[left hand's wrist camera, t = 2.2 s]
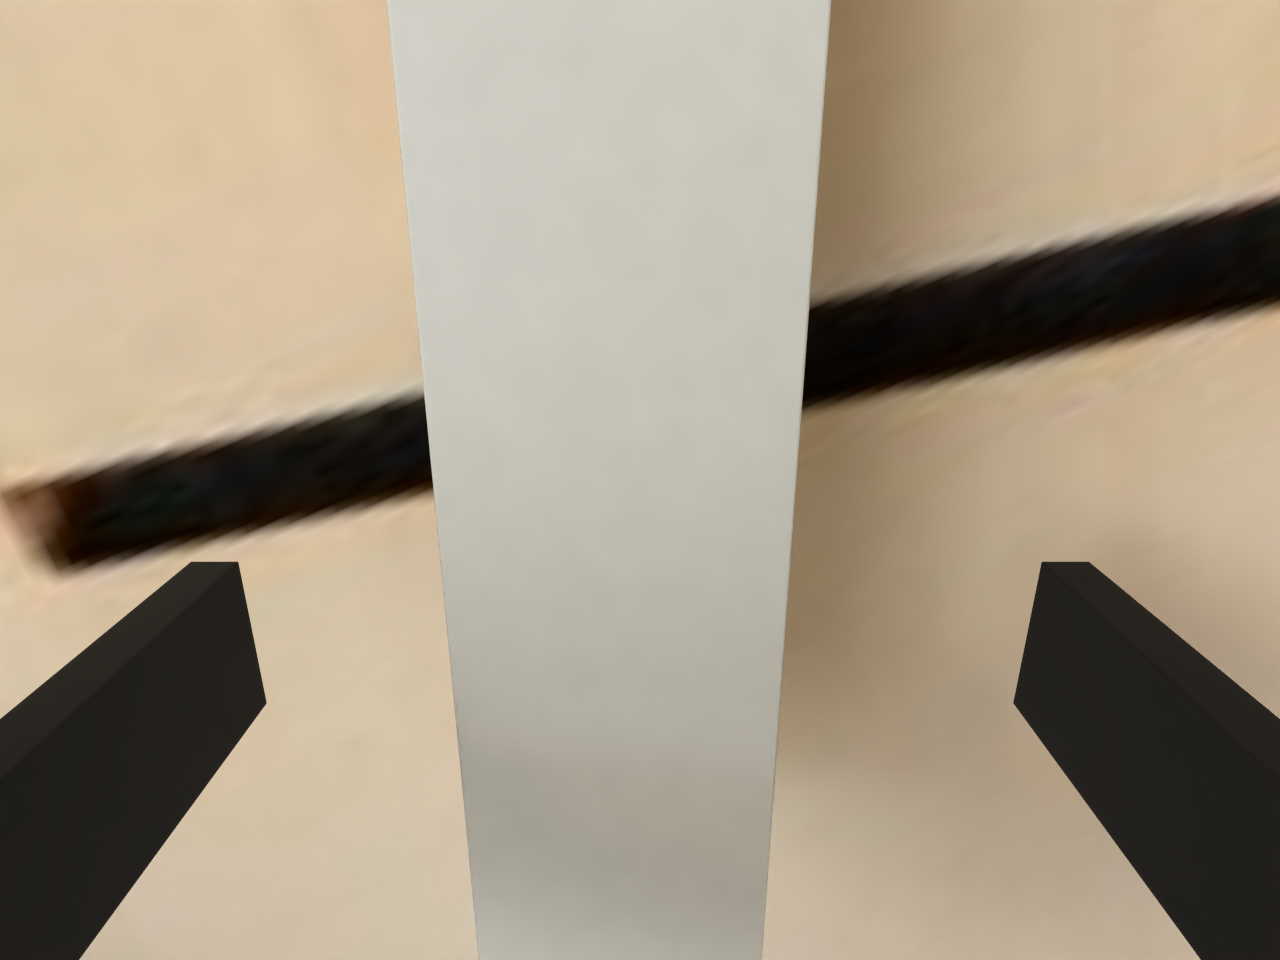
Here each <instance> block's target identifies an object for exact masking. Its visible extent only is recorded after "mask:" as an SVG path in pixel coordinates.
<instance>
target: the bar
mask: <svg viewBox="0 0 1280 960" xmlns="http://www.w3.org/2000/svg"><path fill="white" fill-rule="evenodd" d="M386 1H387V12H388V22H389V33H390V43H391V53H392V64H393V74H394V84H395V95H396V105H397V115H398V126H399V136H400V146H401V157H402V167H403V178H404V188H405V198H406V209H407V219H408V229H409V240H410V250H411V260H412V271H413V281H414V291H415V302H416V312H417V323H418V333H419V343H420V354H421V364H422V374H423V385H424V395H425V405H426V416H427V426H428V437H429V447H430V457H431V468H432V478H433V488H434V499H435V509H436V519H437V530H438V540H439V550H440V561H441V571H442V582H443V592H444V602H445V613H446V623H447V633H448V644H449V654H450V664H451V675H452V685H453V695H454V706H455V716H456V727H457V737H458V747H459V758H460V768H461V778H462V789H463V799H464V809H465V820H466V830H467V840H468V851H469V861H470V872H471V882H472V892H473V903H474V913H475V923H476V934H477V944H478V954H479V960H761V958H762V948H763V934H764V920H765V907H766V893H767V879H768V865H769V852H770V838H771V824H772V810H773V797H774V783H775V769H776V755H777V742H778V728H779V714H780V700H781V687H782V673H783V659H784V646H785V632H786V618H787V604H788V591H789V577H790V563H791V549H792V536H793V522H794V508H795V494H796V481H797V467H798V453H799V439H800V426H801V412H802V398H803V385H804V371H805V357H806V343H807V330H808V316H809V302H810V288H811V275H812V261H813V247H814V233H815V220H816V206H817V192H818V178H819V165H820V151H821V137H822V123H823V110H824V96H825V82H826V69H827V55H828V41H829V27H830V14H831V0H386Z"/></svg>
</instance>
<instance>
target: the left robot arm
mask: <svg viewBox="0 0 1280 960" xmlns="http://www.w3.org/2000/svg"><path fill="white" fill-rule="evenodd" d="M265 705H266V698H265V693H264V688H263V683H262V678H261V673H260V668H259V663H258V658H257V653H256V648H255V643H254V638H253V633H252V628H251V623H250V618H249V613H248V608H247V604H246V599H245V594H244V589H243V584H242V579H241V574H240V569H239V564H238V562H190V563H189V564H188V565H187V566H186V567H184V568H183V569H182V570H181V571H180V572H178V573H177V574H176V575H175V576H173V577H172V578H171V579H170V580H169V581H167V582H166V583H165V584H164V585H163V586H161V587H160V588H159V589H158V590H156V591H155V592H154V593H153V594H152V595H150V596H149V597H148V598H147V599H146V600H144V601H143V602H142V603H141V604H139V605H138V606H137V607H136V608H135V609H133V610H132V611H131V612H130V613H129V614H127V615H126V616H125V617H124V618H122V619H121V620H120V621H119V622H118V623H116V624H115V625H114V626H113V627H112V628H110V629H109V630H108V631H107V632H105V633H104V634H103V635H102V636H101V637H99V638H98V639H97V640H96V641H95V642H93V643H92V644H91V645H90V646H88V647H87V648H86V649H85V650H84V651H82V652H81V653H80V654H79V655H78V656H76V657H75V658H74V659H73V660H71V661H70V662H69V663H68V664H67V665H65V666H64V667H63V668H62V669H61V670H59V671H58V672H57V673H56V674H54V675H53V676H52V677H51V678H50V679H48V680H47V681H46V682H45V683H44V684H42V685H41V686H40V687H39V688H37V689H36V690H35V691H34V692H33V693H31V694H30V695H29V696H28V697H27V698H25V699H24V700H23V701H22V702H20V703H19V704H18V705H17V706H16V707H14V708H13V709H12V710H11V711H10V712H8V713H7V714H6V715H5V716H3V717H2V718H1V719H0V960H79V959H80V958H81V956H82V955H83V954H84V952H85V951H86V949H87V948H88V947H89V945H90V944H91V943H92V941H93V940H94V938H95V937H96V936H97V934H98V933H99V932H100V930H101V929H102V928H103V926H104V925H105V923H106V922H107V921H108V919H109V918H110V917H111V915H112V914H113V913H114V911H115V910H116V908H117V907H118V906H119V904H120V903H121V902H122V900H123V899H124V897H125V896H126V895H127V893H128V892H129V891H130V889H131V888H132V887H133V885H134V884H135V882H136V881H137V880H138V878H139V877H140V876H141V874H142V873H143V871H144V870H145V869H146V867H147V866H148V865H149V863H150V862H151V861H152V859H153V858H154V856H155V855H156V854H157V852H158V851H159V850H160V848H161V847H162V845H163V844H164V843H165V841H166V840H167V839H168V837H169V836H170V835H171V833H172V832H173V830H174V829H175V828H176V826H177V825H178V824H179V822H180V821H181V819H182V818H183V817H184V815H185V814H186V813H187V811H188V810H189V809H190V807H191V806H192V804H193V803H194V802H195V800H196V799H197V798H198V796H199V795H200V793H201V792H202V791H203V789H204V788H205V787H206V785H207V784H208V783H209V781H210V780H211V778H212V777H213V776H214V774H215V773H216V772H217V770H218V769H219V767H220V766H221V765H222V763H223V762H224V761H225V759H226V758H227V757H228V755H229V754H230V752H231V751H232V750H233V748H234V747H235V746H236V744H237V743H238V742H239V740H240V739H241V737H242V736H243V735H244V733H245V732H246V731H247V729H248V728H249V726H250V725H251V724H252V722H253V721H254V720H255V718H256V717H257V716H258V714H259V713H260V711H261V710H262V709H263V707H264V706H265ZM1014 705H1015V706H1016V707H1017V709H1018V710H1019V711H1020V713H1021V714H1022V716H1023V717H1024V718H1025V720H1026V721H1027V722H1028V724H1029V725H1030V726H1031V728H1032V729H1033V731H1034V732H1035V733H1036V735H1037V736H1038V737H1039V739H1040V740H1041V742H1042V743H1043V744H1044V746H1045V747H1046V748H1047V750H1048V751H1049V752H1050V754H1051V755H1052V757H1053V758H1054V759H1055V761H1056V762H1057V763H1058V765H1059V766H1060V767H1061V769H1062V770H1063V772H1064V773H1065V774H1066V776H1067V777H1068V778H1069V780H1070V781H1071V783H1072V784H1073V785H1074V787H1075V788H1076V789H1077V791H1078V792H1079V793H1080V795H1081V796H1082V798H1083V799H1084V800H1085V802H1086V803H1087V804H1088V806H1089V807H1090V809H1091V810H1092V811H1093V813H1094V814H1095V815H1096V817H1097V818H1098V819H1099V821H1100V822H1101V824H1102V825H1103V826H1104V828H1105V829H1106V830H1107V832H1108V833H1109V835H1110V836H1111V837H1112V839H1113V840H1114V841H1115V843H1116V844H1117V845H1118V847H1119V848H1120V850H1121V851H1122V852H1123V854H1124V855H1125V856H1126V858H1127V859H1128V861H1129V862H1130V863H1131V865H1132V866H1133V867H1134V869H1135V870H1136V871H1137V873H1138V874H1139V876H1140V877H1141V878H1142V880H1143V881H1144V882H1145V884H1146V885H1147V887H1148V888H1149V889H1150V891H1151V892H1152V893H1153V895H1154V896H1155V897H1156V899H1157V900H1158V902H1159V903H1160V904H1161V906H1162V907H1163V908H1164V910H1165V911H1166V913H1167V914H1168V915H1169V917H1170V918H1171V919H1172V921H1173V922H1174V923H1175V925H1176V926H1177V928H1178V929H1179V930H1180V932H1181V933H1182V934H1183V936H1184V937H1185V938H1186V940H1187V941H1188V943H1189V944H1190V945H1191V947H1192V948H1193V949H1194V951H1195V952H1196V954H1197V955H1198V956H1199V958H1200V959H1201V960H1280V719H1279V718H1278V717H1277V716H1275V715H1274V714H1273V713H1272V712H1270V711H1269V710H1268V709H1267V708H1266V707H1264V706H1263V705H1262V704H1261V703H1260V702H1258V701H1257V700H1256V699H1255V698H1253V697H1252V696H1251V695H1250V694H1249V693H1247V692H1246V691H1245V690H1244V689H1243V688H1241V687H1240V686H1239V685H1238V684H1236V683H1235V682H1234V681H1233V680H1232V679H1230V678H1229V677H1228V676H1227V675H1226V674H1224V673H1223V672H1222V671H1221V670H1219V669H1218V668H1217V667H1216V666H1215V665H1213V664H1212V663H1211V662H1210V661H1209V660H1207V659H1206V658H1205V657H1204V656H1202V655H1201V654H1200V653H1199V652H1198V651H1196V650H1195V649H1194V648H1193V647H1192V646H1190V645H1189V644H1188V643H1187V642H1185V641H1184V640H1183V639H1182V638H1181V637H1179V636H1178V635H1177V634H1176V633H1175V632H1173V631H1172V630H1171V629H1170V628H1168V627H1167V626H1166V625H1165V624H1164V623H1162V622H1161V621H1160V620H1159V619H1158V618H1156V617H1155V616H1154V615H1153V614H1151V613H1150V612H1149V611H1148V610H1147V609H1145V608H1144V607H1143V606H1142V605H1141V604H1139V603H1138V602H1137V601H1136V600H1134V599H1133V598H1132V597H1131V596H1130V595H1128V594H1127V593H1126V592H1125V591H1124V590H1122V589H1121V588H1120V587H1119V586H1117V585H1116V584H1115V583H1114V582H1113V581H1111V580H1110V579H1109V578H1108V577H1107V576H1105V575H1104V574H1103V573H1102V572H1100V571H1099V570H1098V569H1097V568H1096V567H1094V566H1093V565H1092V564H1091V563H1090V562H1042V564H1041V569H1040V574H1039V579H1038V584H1037V589H1036V594H1035V599H1034V604H1033V608H1032V613H1031V618H1030V623H1029V628H1028V633H1027V638H1026V643H1025V648H1024V653H1023V658H1022V663H1021V668H1020V673H1019V678H1018V683H1017V688H1016V693H1015V698H1014Z"/></svg>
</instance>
